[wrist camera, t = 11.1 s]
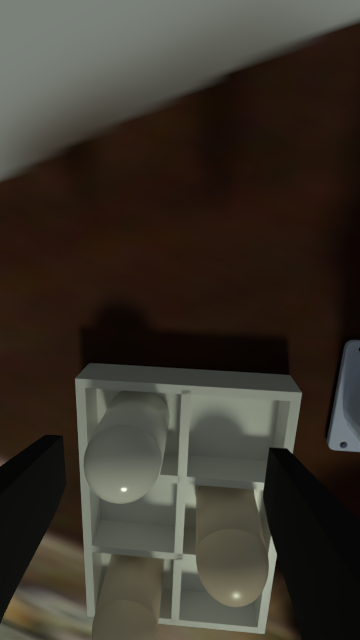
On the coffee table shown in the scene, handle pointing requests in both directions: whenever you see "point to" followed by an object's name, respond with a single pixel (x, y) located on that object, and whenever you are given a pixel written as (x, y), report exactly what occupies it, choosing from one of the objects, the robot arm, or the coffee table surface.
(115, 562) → the egg carton
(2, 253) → the coffee table surface
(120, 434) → the egg
